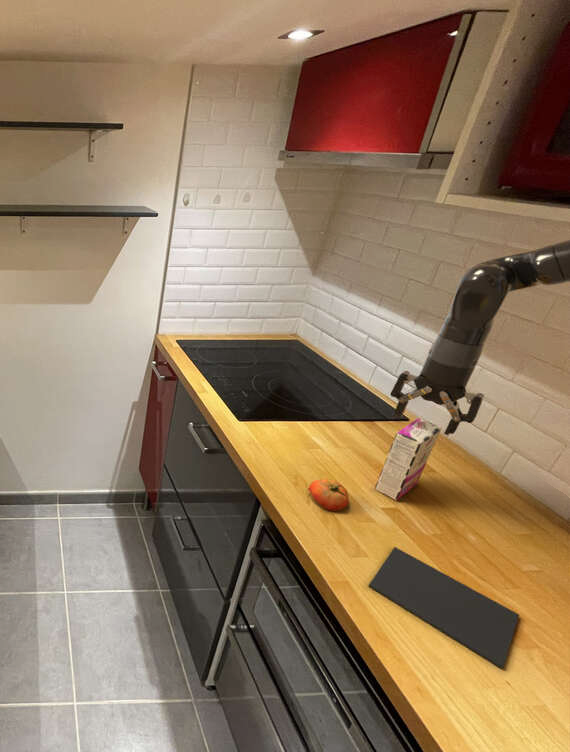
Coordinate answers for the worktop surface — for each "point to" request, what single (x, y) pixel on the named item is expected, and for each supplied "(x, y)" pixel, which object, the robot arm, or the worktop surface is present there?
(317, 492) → the tomato
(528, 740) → the worktop surface
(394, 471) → the candy bar box
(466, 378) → the robot arm
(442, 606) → the mat
